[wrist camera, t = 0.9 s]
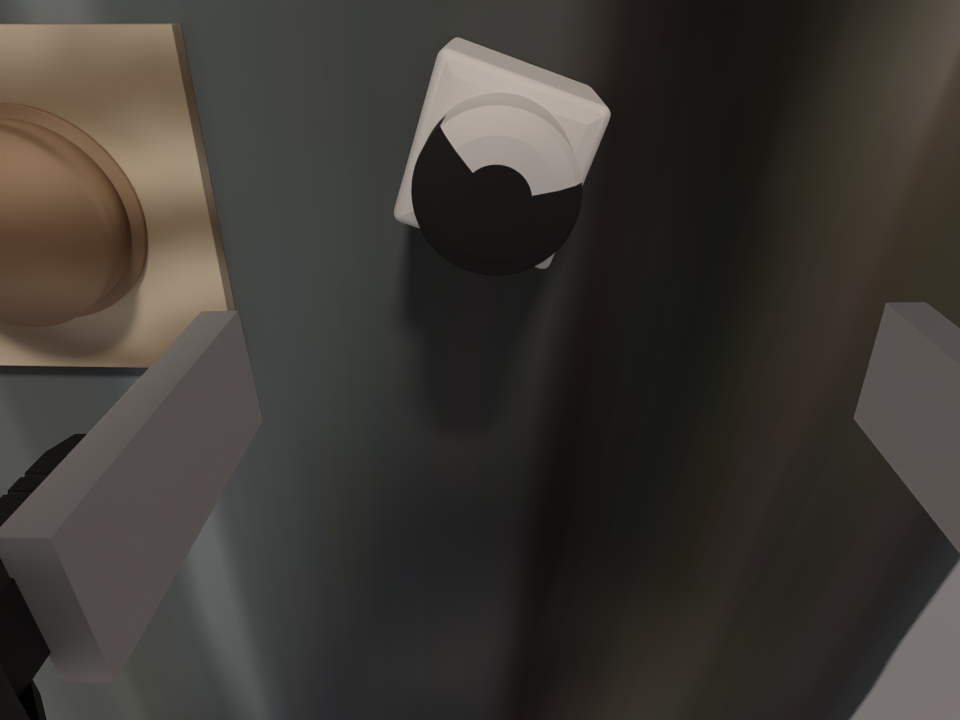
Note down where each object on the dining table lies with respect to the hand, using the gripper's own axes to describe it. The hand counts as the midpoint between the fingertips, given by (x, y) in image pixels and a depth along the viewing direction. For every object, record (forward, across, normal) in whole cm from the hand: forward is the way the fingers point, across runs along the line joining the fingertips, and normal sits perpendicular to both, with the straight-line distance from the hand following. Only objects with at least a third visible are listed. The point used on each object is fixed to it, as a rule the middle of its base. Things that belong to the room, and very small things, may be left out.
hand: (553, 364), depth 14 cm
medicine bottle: (+23, -1, 0) cm, 23 cm away
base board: (+22, -26, -3) cm, 34 cm away
